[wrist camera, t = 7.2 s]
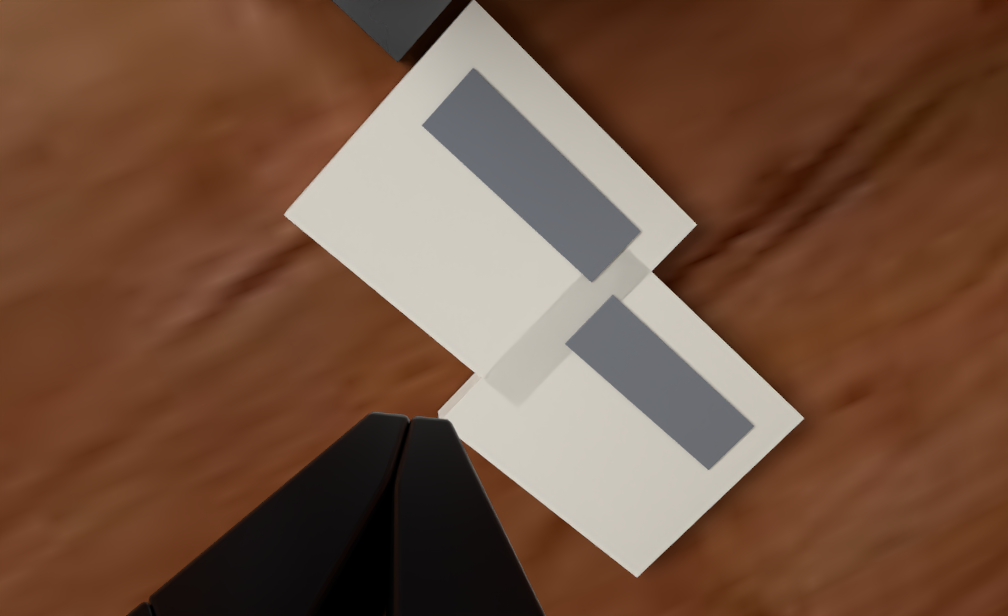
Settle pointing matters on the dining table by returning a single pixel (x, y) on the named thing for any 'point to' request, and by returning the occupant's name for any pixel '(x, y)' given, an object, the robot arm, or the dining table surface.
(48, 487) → the dining table surface
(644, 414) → the label plate
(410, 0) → the arm mount
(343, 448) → the robot arm
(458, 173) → the label plate
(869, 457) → the dining table surface
